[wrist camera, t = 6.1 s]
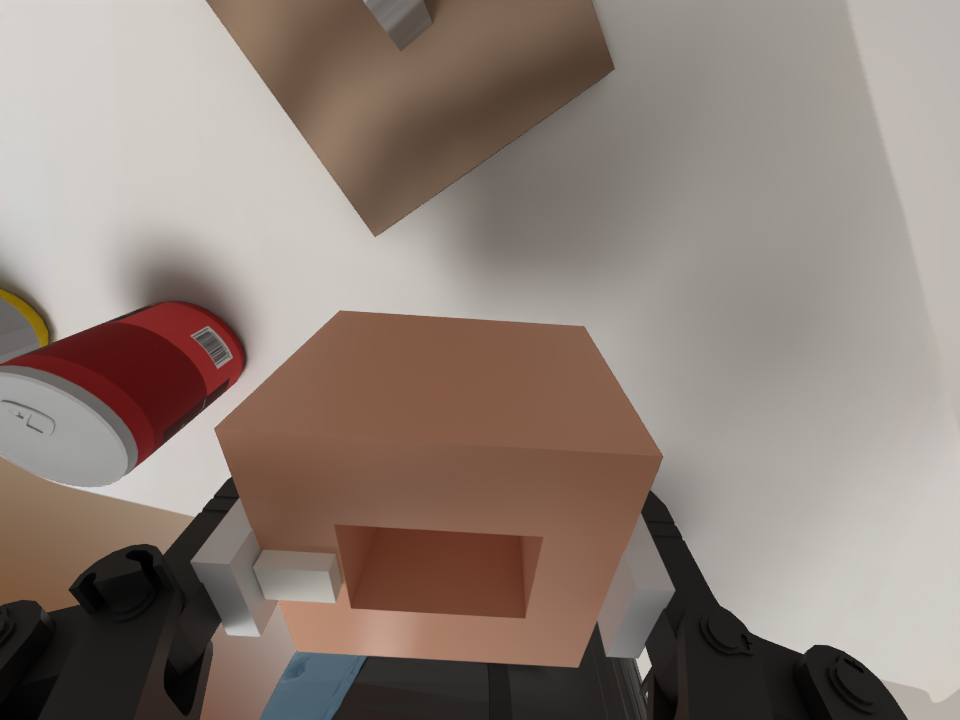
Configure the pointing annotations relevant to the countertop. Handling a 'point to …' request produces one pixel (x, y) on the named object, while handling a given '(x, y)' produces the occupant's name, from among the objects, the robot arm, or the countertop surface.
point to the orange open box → (441, 487)
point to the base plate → (415, 83)
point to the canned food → (114, 392)
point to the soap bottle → (19, 328)
